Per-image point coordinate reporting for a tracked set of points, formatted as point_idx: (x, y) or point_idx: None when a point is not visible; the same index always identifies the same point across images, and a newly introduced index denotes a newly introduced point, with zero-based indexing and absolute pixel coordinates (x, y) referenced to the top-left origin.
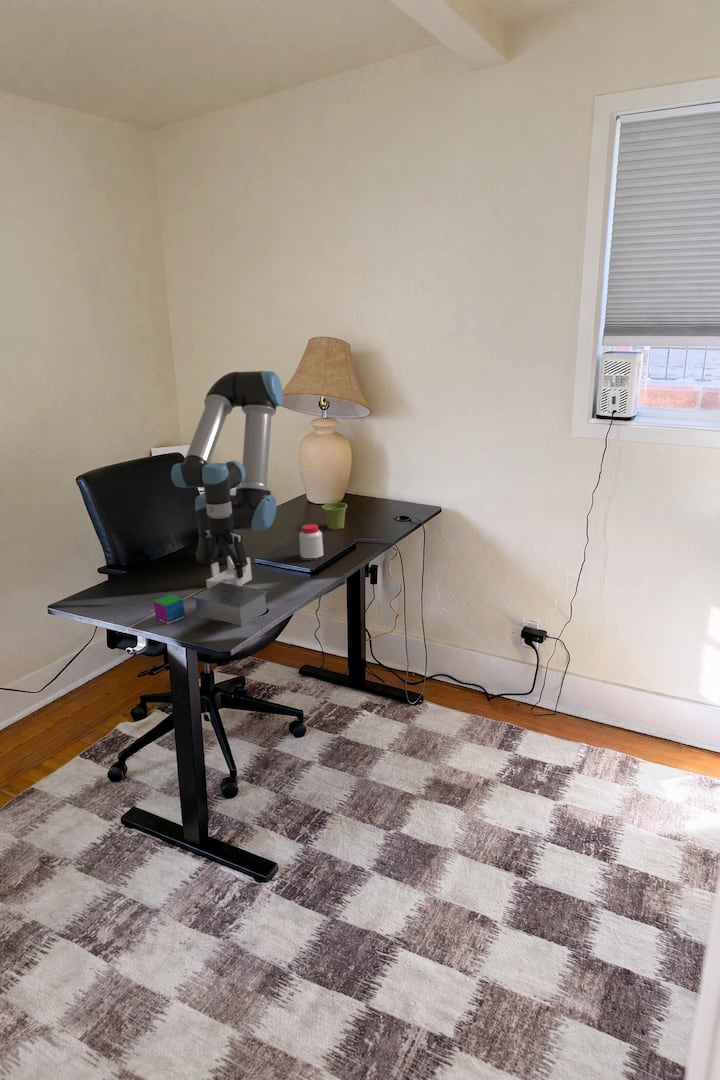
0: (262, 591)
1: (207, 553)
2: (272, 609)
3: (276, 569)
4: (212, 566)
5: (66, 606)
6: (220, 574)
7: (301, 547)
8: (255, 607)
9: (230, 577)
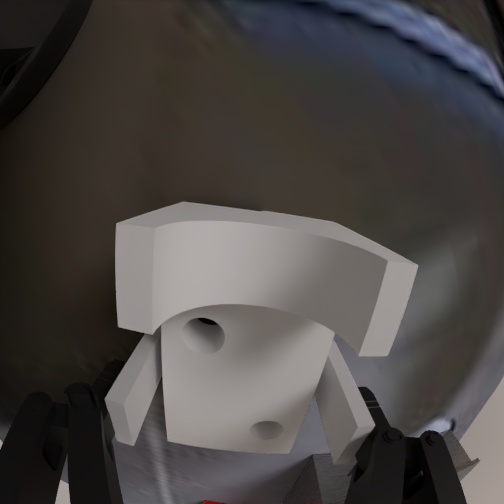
0: (469, 468)
1: (54, 479)
2: (463, 416)
3: (388, 52)
4: (135, 438)
5: None
6: (180, 375)
7: None
8: None
9: (278, 398)
